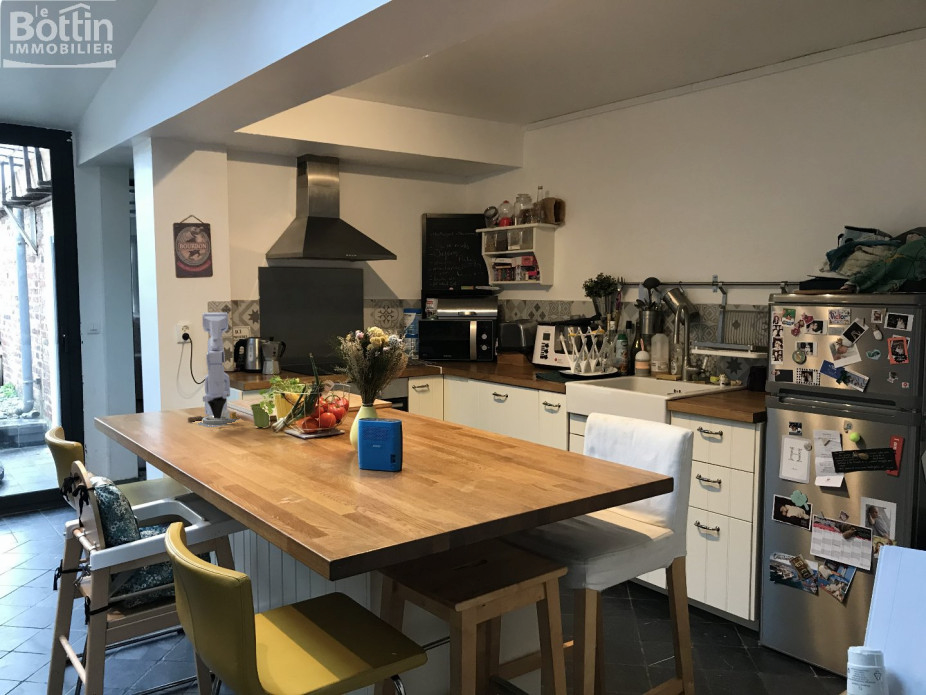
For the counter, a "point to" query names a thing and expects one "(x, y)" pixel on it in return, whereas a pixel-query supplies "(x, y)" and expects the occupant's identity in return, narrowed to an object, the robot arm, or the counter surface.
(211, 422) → the board
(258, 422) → the plant pot
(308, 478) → the counter surface
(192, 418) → the screwdriver
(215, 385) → the robot arm
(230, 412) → the dial
